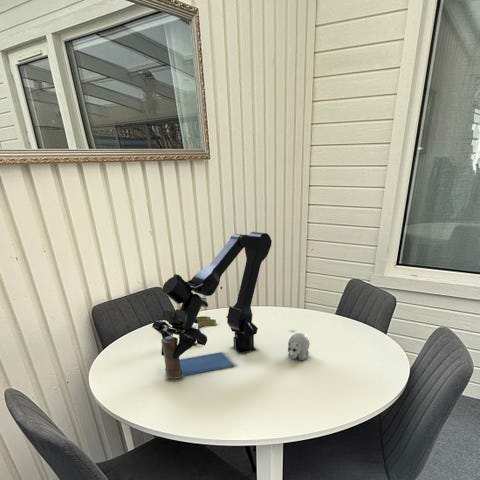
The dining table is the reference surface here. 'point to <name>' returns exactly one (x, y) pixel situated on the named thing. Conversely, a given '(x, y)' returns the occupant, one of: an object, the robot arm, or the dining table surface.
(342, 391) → the dining table surface
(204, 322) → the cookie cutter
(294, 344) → the grey bear figurine
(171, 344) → the pepper mill
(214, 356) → the napkin
